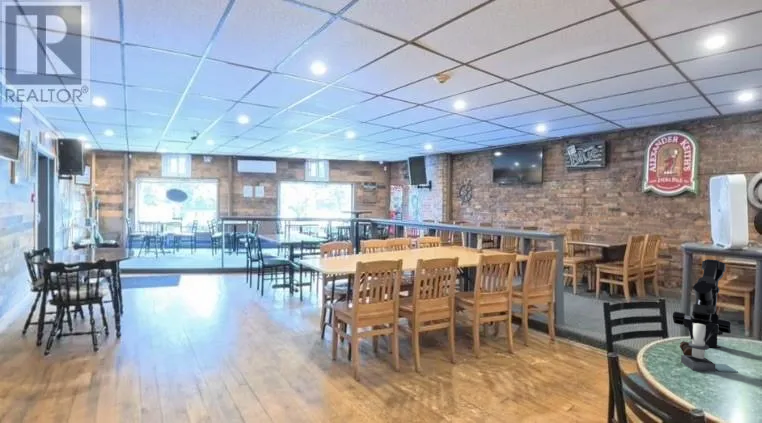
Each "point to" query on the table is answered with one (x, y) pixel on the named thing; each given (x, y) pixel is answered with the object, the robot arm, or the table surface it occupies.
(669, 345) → the table surface
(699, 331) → the pin
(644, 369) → the table surface
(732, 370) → the mat
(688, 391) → the table surface
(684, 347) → the bolt
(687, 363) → the block
